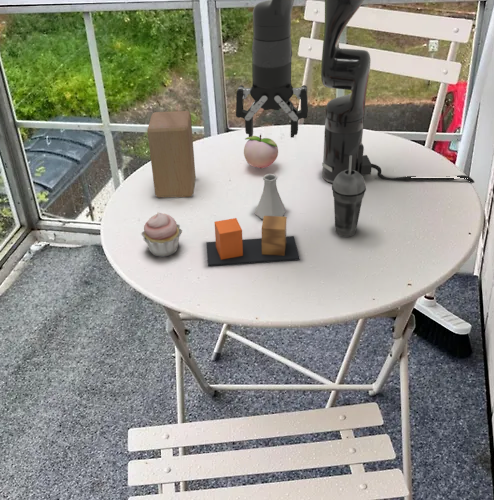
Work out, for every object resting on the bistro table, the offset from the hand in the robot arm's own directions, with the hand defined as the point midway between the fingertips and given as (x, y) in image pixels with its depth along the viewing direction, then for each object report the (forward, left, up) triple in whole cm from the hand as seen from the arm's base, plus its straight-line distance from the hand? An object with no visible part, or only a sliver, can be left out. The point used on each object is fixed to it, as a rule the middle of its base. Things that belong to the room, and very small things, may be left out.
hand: (271, 135), depth 135 cm
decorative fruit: (-1, -33, -26) cm, 42 cm away
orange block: (+10, +5, -26) cm, 28 cm away
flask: (-1, -11, -26) cm, 29 cm away
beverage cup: (-17, -1, -26) cm, 31 cm away
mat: (+5, +5, -26) cm, 27 cm away
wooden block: (+22, -26, -26) cm, 43 cm away
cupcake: (+25, +1, -26) cm, 36 cm away
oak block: (0, +5, -26) cm, 26 cm away
